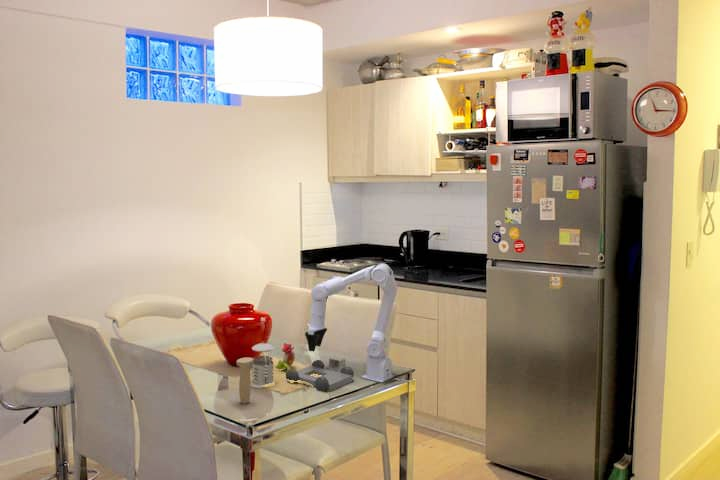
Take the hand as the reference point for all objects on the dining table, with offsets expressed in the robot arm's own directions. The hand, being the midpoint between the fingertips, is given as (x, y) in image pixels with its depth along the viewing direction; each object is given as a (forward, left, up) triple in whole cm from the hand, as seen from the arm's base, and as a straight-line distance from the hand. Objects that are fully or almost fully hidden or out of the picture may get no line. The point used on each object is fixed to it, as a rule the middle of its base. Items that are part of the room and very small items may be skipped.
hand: (314, 348), depth 277 cm
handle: (-2, +41, -10) cm, 42 cm away
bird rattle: (+11, +4, -10) cm, 15 cm away
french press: (+6, +23, -10) cm, 26 cm away
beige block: (-5, -8, -10) cm, 14 cm away
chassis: (-8, +7, -10) cm, 15 cm away
